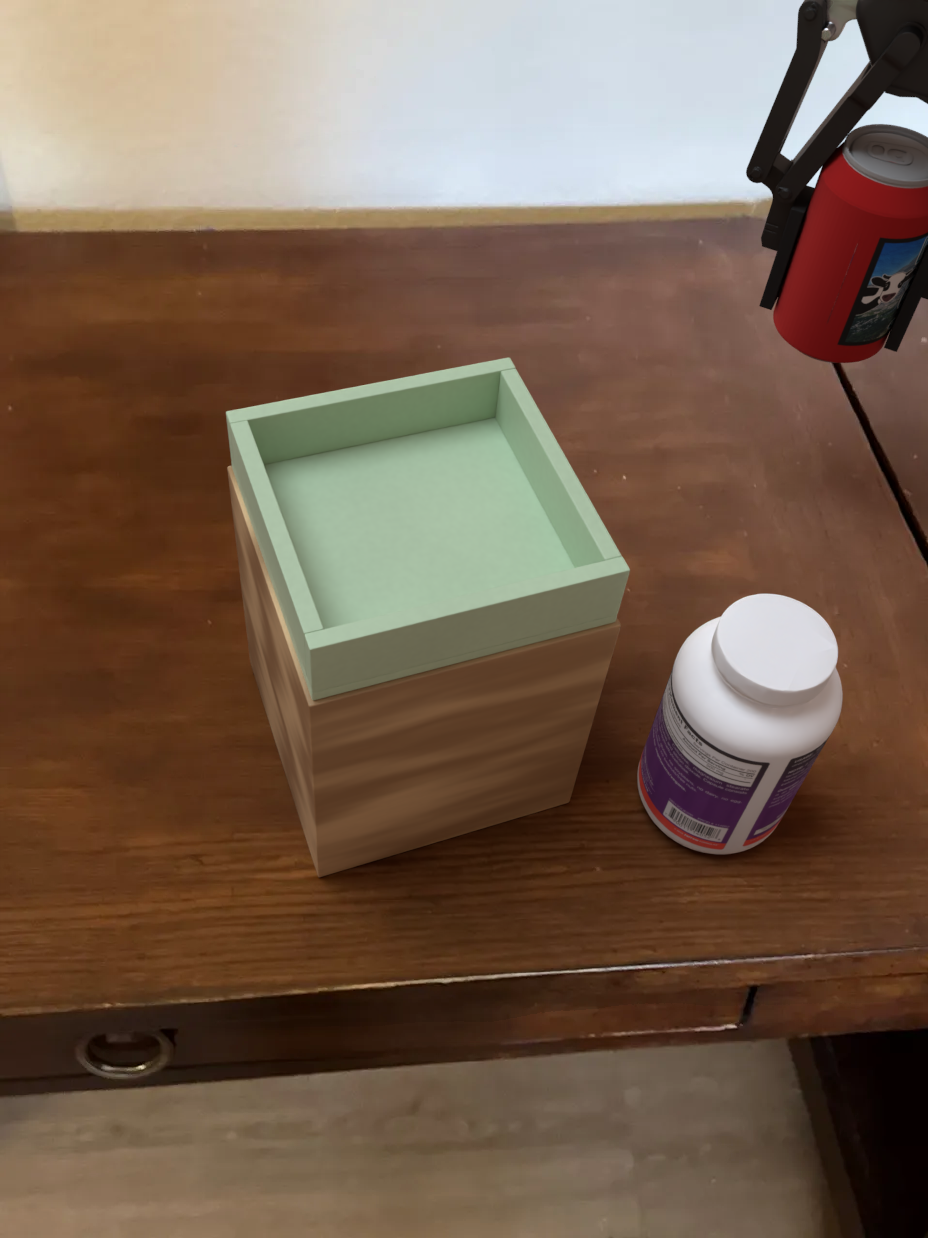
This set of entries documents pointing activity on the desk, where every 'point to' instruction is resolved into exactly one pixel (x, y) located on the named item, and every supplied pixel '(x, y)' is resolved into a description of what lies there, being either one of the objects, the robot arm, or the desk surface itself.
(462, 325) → the desk surface
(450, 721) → the stand
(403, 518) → the tub
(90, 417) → the desk surface
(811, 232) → the beverage can
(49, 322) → the desk surface
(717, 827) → the pill bottle
